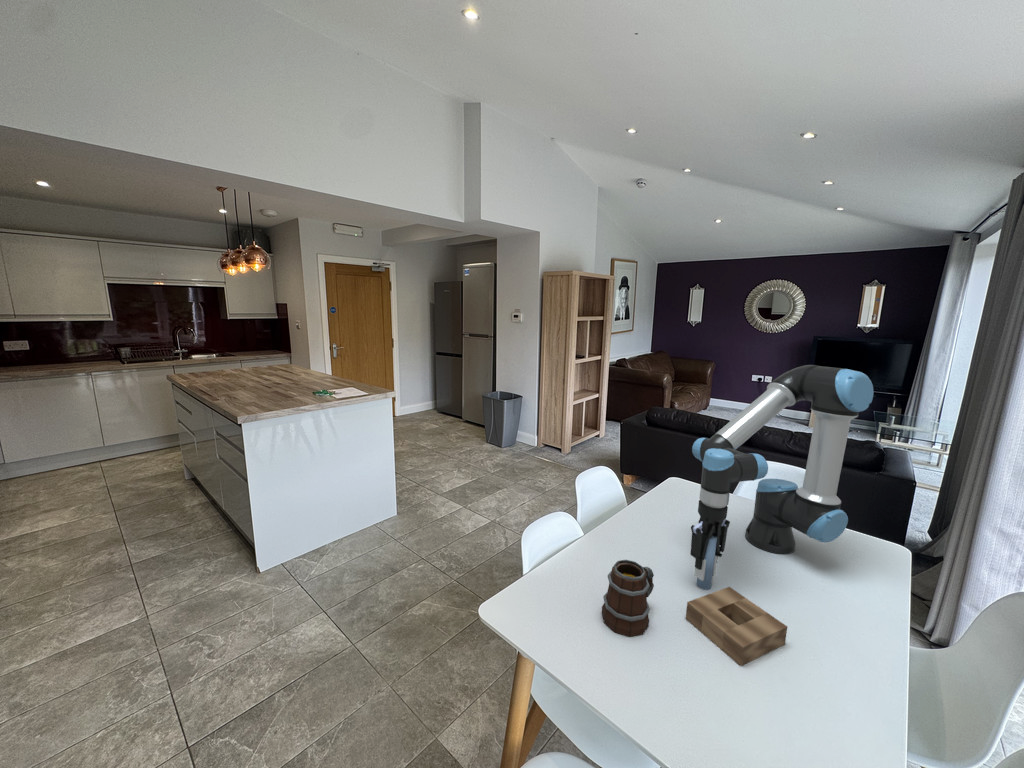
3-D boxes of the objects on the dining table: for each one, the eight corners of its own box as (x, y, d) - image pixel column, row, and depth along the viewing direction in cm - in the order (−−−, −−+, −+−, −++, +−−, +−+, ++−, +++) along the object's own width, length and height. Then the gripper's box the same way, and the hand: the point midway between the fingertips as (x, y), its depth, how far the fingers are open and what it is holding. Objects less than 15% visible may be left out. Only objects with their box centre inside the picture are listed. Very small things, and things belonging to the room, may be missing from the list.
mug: (627, 644, 100) (632, 589, 97) (592, 613, 110) (595, 562, 107) (668, 619, 108) (673, 568, 105) (632, 593, 118) (636, 545, 115)
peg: (702, 579, 125) (708, 531, 122) (714, 587, 121) (720, 538, 118) (693, 582, 123) (698, 534, 120) (704, 591, 119) (710, 540, 117)
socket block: (727, 602, 115) (729, 586, 114) (784, 644, 101) (787, 626, 100) (685, 618, 108) (687, 602, 107) (740, 666, 94) (743, 647, 93)
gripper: (722, 492, 124) (714, 562, 128) (681, 501, 117) (673, 575, 121) (745, 503, 118) (735, 576, 122) (703, 513, 111) (694, 591, 115)
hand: (704, 575), depth 122 cm, fingers closed on peg, 4 cm apart
